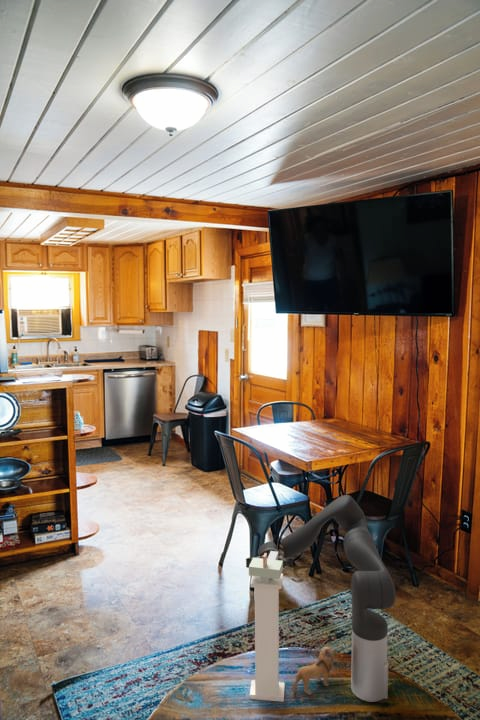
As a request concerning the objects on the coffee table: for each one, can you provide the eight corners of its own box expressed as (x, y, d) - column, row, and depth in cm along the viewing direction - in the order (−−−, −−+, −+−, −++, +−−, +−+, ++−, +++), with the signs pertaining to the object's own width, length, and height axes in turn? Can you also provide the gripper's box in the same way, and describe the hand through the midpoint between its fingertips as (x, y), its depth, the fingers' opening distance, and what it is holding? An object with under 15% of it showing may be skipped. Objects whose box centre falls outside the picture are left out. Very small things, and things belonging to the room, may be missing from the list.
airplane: (288, 558, 152) (288, 534, 152) (279, 585, 138) (279, 558, 138) (260, 555, 154) (260, 531, 153) (248, 582, 140) (248, 555, 140)
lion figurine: (324, 669, 155) (324, 640, 154) (338, 679, 151) (338, 649, 150) (286, 693, 146) (286, 662, 145) (301, 705, 142) (301, 673, 140)
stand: (284, 685, 148) (284, 573, 145) (283, 702, 143) (283, 585, 139) (251, 683, 150) (250, 571, 146) (249, 699, 144) (248, 583, 140)
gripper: (293, 572, 174) (293, 577, 159) (248, 573, 175) (245, 577, 160) (292, 547, 176) (292, 550, 161) (248, 548, 177) (244, 550, 162)
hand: (268, 563), depth 160 cm, fingers open, 8 cm apart
